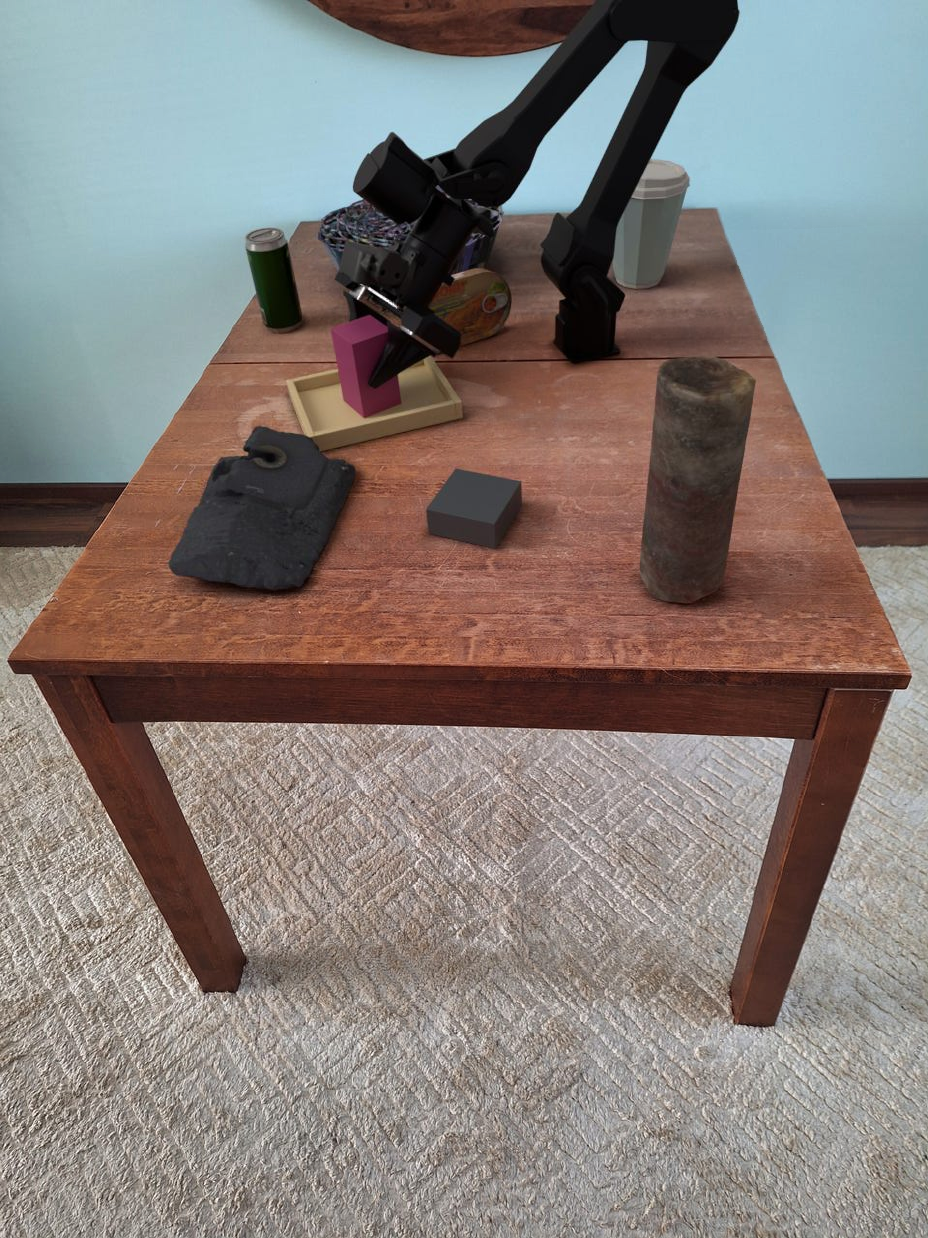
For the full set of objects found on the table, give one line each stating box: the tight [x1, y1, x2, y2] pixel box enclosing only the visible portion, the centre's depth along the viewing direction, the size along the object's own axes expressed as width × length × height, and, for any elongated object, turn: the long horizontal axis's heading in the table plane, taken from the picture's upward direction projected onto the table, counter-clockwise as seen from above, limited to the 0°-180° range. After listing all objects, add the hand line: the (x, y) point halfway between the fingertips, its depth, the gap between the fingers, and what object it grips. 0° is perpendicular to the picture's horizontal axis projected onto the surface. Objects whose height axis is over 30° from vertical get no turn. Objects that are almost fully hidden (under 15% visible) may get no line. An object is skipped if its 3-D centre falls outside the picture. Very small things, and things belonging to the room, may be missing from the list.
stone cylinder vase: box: [639, 355, 757, 604], centre depth 70 cm, size 8×7×20 cm
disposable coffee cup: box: [612, 158, 691, 290], centre depth 116 cm, size 11×11×15 cm
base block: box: [425, 468, 523, 549], centre depth 84 cm, size 7×7×3 cm
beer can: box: [244, 227, 304, 334], centre depth 114 cm, size 5×5×12 cm
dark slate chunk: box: [168, 425, 357, 591], centre depth 85 cm, size 15×22×5 cm
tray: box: [285, 355, 464, 453], centre depth 100 cm, size 18×14×2 cm
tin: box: [398, 268, 513, 355], centre depth 108 cm, size 15×3×8 cm, turn 117°
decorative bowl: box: [317, 186, 505, 303], centre depth 124 cm, size 26×28×10 cm
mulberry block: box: [330, 315, 401, 418], centre depth 98 cm, size 5×5×9 cm
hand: (357, 375), depth 98 cm, fingers open, 6 cm apart
